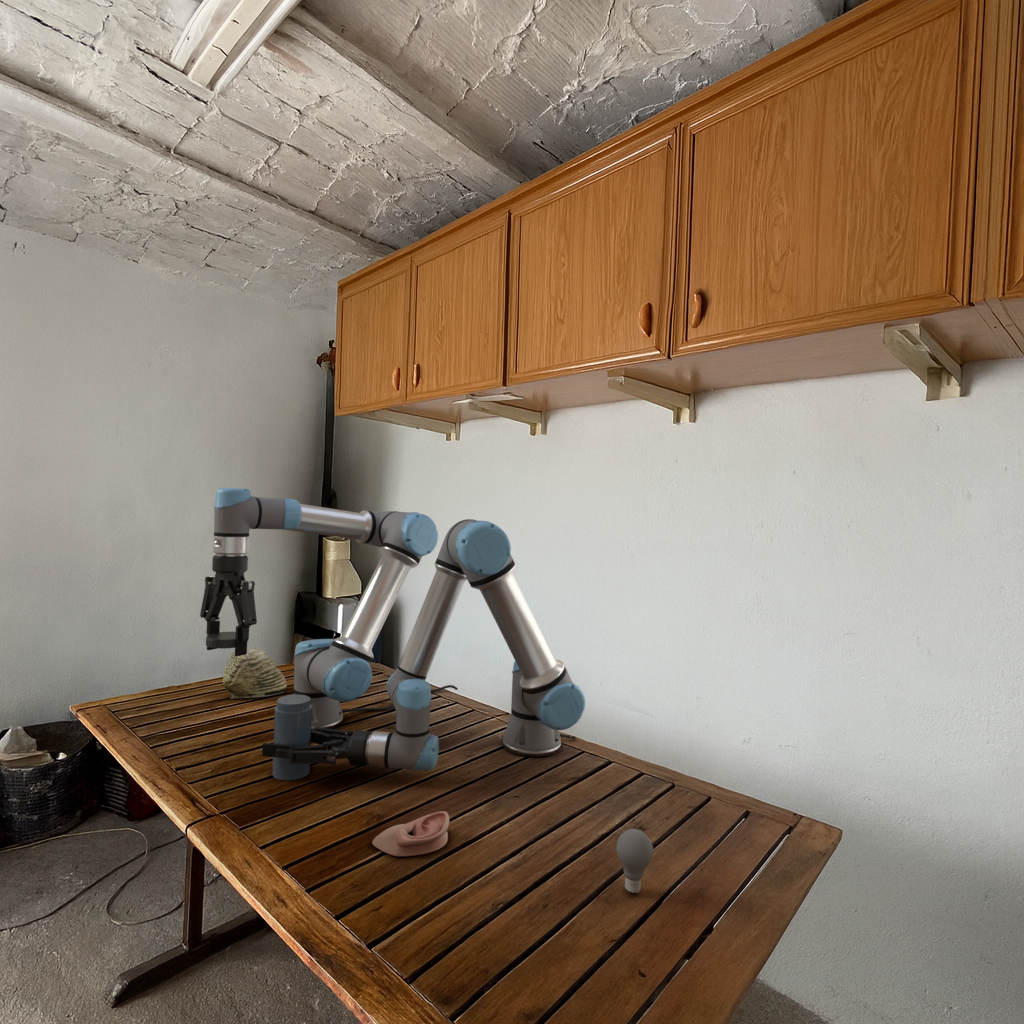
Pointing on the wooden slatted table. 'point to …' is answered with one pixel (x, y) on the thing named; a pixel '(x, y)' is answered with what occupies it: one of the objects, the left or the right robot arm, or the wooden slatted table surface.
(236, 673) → the fossil
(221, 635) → the lid
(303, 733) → the jar
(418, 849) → the anatomical model
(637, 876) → the light bulb
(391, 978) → the wooden slatted table surface
